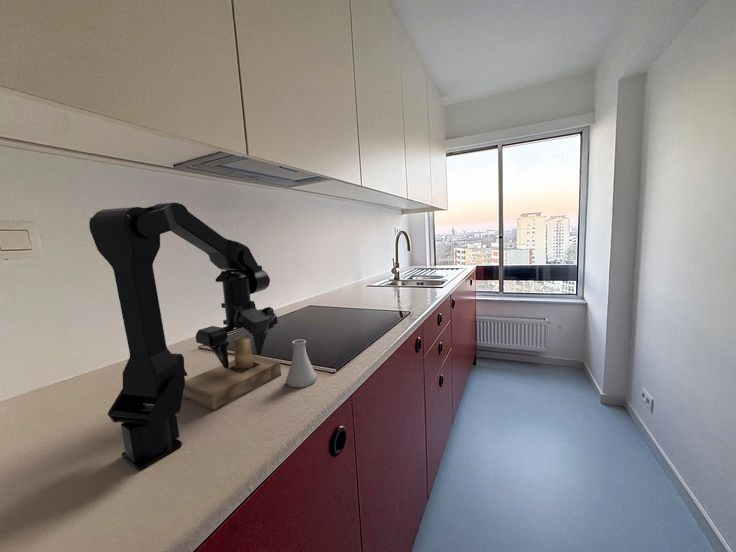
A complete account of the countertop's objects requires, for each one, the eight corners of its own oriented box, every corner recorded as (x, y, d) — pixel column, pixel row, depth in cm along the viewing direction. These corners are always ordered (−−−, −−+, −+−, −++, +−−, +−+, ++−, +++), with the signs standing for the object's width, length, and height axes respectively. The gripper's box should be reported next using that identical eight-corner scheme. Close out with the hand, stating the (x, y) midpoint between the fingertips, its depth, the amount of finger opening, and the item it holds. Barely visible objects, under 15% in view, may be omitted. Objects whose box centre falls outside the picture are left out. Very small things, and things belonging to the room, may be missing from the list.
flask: (279, 385, 72) (276, 344, 70) (299, 372, 78) (297, 334, 77) (303, 391, 68) (300, 348, 67) (322, 377, 75) (320, 338, 73)
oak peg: (232, 380, 74) (228, 340, 73) (247, 373, 78) (243, 335, 76) (243, 383, 72) (239, 342, 71) (258, 376, 76) (254, 337, 74)
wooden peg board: (213, 411, 62) (212, 395, 61) (182, 397, 68) (180, 382, 67) (281, 375, 77) (280, 361, 76) (250, 366, 83) (249, 353, 83)
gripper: (221, 310, 60) (229, 384, 62) (290, 293, 76) (295, 353, 78) (190, 305, 66) (198, 373, 68) (260, 290, 82) (265, 346, 84)
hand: (243, 360), depth 74 cm, fingers open, 9 cm apart
